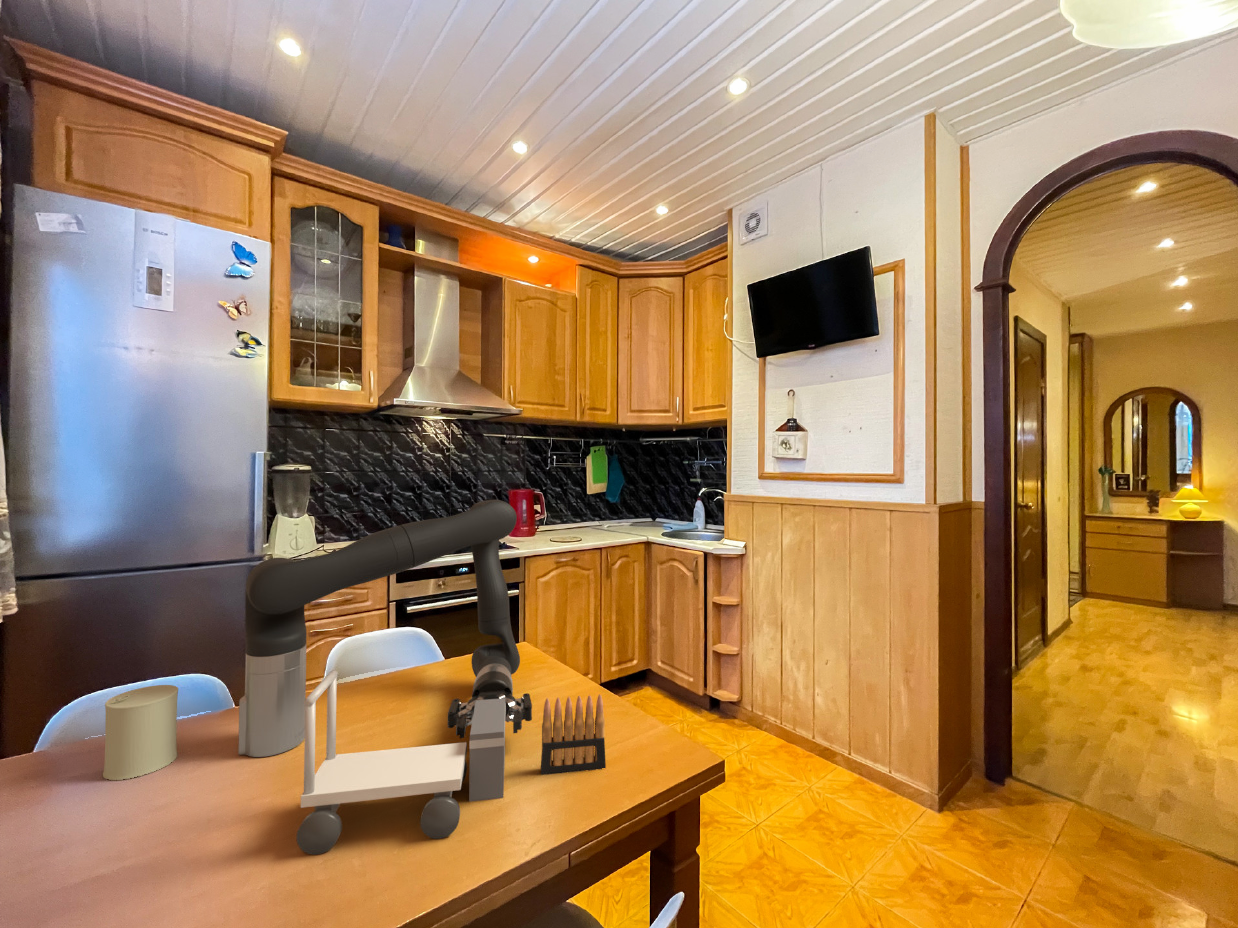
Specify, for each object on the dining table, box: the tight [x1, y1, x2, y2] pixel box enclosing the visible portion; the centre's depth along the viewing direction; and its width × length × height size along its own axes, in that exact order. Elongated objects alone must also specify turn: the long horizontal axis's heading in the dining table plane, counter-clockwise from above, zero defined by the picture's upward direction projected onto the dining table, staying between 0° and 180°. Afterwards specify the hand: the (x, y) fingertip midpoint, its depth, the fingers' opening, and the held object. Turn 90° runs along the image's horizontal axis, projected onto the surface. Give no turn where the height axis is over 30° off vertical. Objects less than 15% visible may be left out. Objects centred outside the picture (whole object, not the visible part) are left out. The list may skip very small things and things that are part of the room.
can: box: [102, 684, 179, 781], centre depth 88 cm, size 9×9×12 cm
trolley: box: [296, 670, 468, 856], centre depth 75 cm, size 20×12×20 cm, turn 101°
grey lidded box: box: [468, 698, 506, 803], centre depth 84 cm, size 5×12×10 cm, turn 11°
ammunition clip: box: [540, 694, 607, 776], centre depth 87 cm, size 11×2×12 cm, turn 101°
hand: (489, 729), depth 86 cm, fingers open, 8 cm apart
